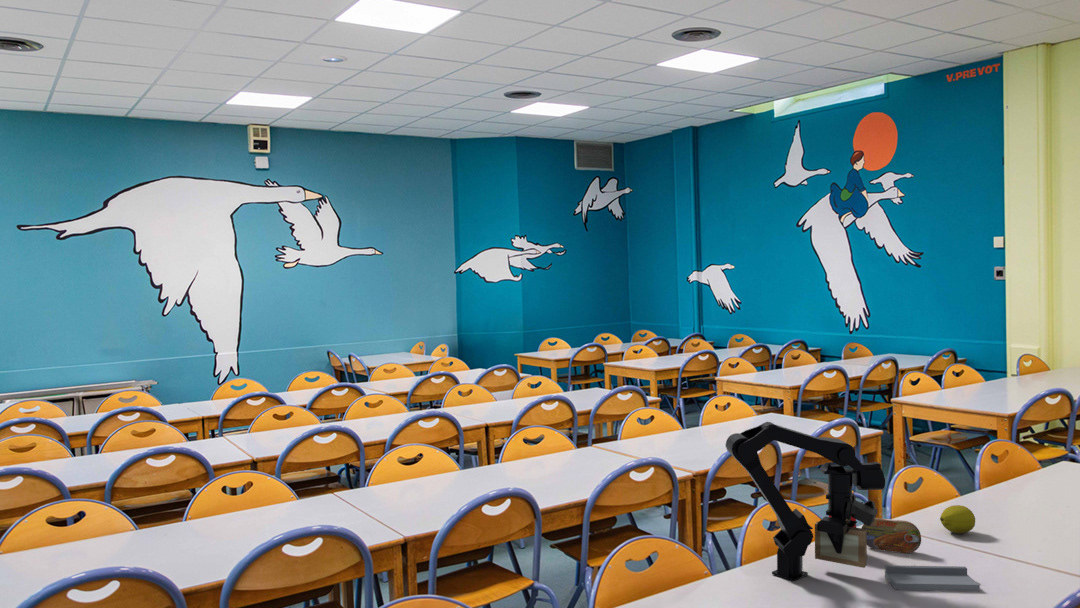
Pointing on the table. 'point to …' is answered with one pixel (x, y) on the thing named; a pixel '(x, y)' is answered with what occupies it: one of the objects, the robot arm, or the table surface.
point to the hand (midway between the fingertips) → (840, 551)
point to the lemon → (958, 519)
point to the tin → (893, 535)
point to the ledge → (930, 578)
